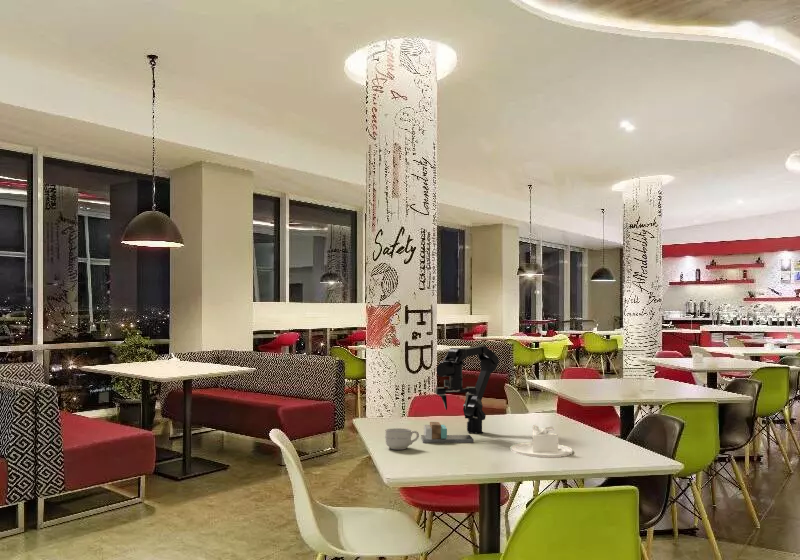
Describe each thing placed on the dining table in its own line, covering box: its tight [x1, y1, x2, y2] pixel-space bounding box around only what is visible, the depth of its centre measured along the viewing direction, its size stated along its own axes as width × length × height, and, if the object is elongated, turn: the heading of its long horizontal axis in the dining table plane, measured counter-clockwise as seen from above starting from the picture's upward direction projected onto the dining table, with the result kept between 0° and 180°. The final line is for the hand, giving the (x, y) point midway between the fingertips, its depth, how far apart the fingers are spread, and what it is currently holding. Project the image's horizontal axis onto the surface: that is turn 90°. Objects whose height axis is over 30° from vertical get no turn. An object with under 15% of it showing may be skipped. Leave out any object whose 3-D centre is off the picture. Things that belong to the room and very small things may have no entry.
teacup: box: [385, 427, 420, 451], centre depth 266 cm, size 14×11×8 cm
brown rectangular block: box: [429, 421, 442, 439], centre depth 284 cm, size 4×8×6 cm, turn 3°
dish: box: [509, 424, 573, 458], centre depth 264 cm, size 25×25×11 cm
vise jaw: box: [441, 424, 448, 439], centre depth 284 cm, size 2×10×4 cm, turn 3°
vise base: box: [420, 424, 475, 444], centre depth 284 cm, size 22×10×6 cm, turn 93°
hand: (456, 409), depth 296 cm, fingers open, 9 cm apart
